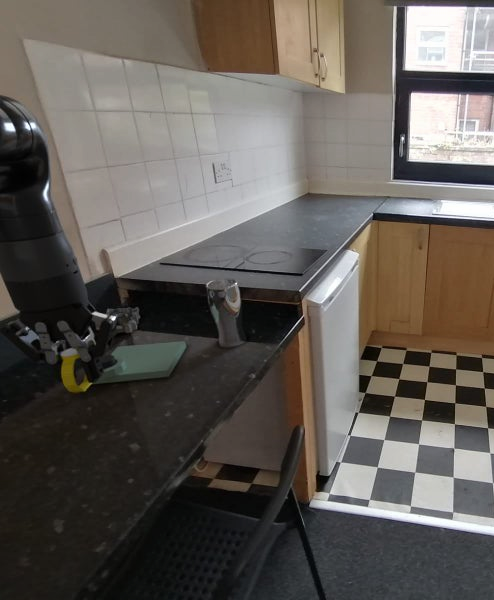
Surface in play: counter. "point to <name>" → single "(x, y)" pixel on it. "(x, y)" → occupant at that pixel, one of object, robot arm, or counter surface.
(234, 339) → the beer glass
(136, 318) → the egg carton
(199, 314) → the counter surface
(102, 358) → the power button
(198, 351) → the counter surface
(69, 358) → the watch
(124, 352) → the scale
